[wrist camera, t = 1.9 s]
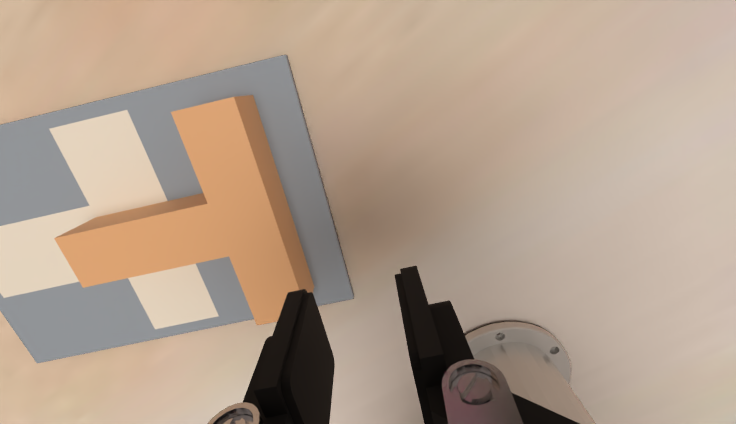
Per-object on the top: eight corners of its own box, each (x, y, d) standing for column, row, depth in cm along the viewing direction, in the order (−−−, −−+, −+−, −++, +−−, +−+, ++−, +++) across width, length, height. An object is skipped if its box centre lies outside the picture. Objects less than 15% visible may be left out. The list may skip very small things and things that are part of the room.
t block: (314, 286, 30) (307, 314, 26) (150, 320, 31) (121, 352, 27) (253, 95, 25) (233, 96, 21) (56, 142, 26) (3, 152, 22)
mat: (353, 295, 31) (353, 298, 31) (41, 359, 33) (37, 363, 32) (287, 55, 24) (285, 54, 24) (-102, 151, 26) (-111, 152, 26)
